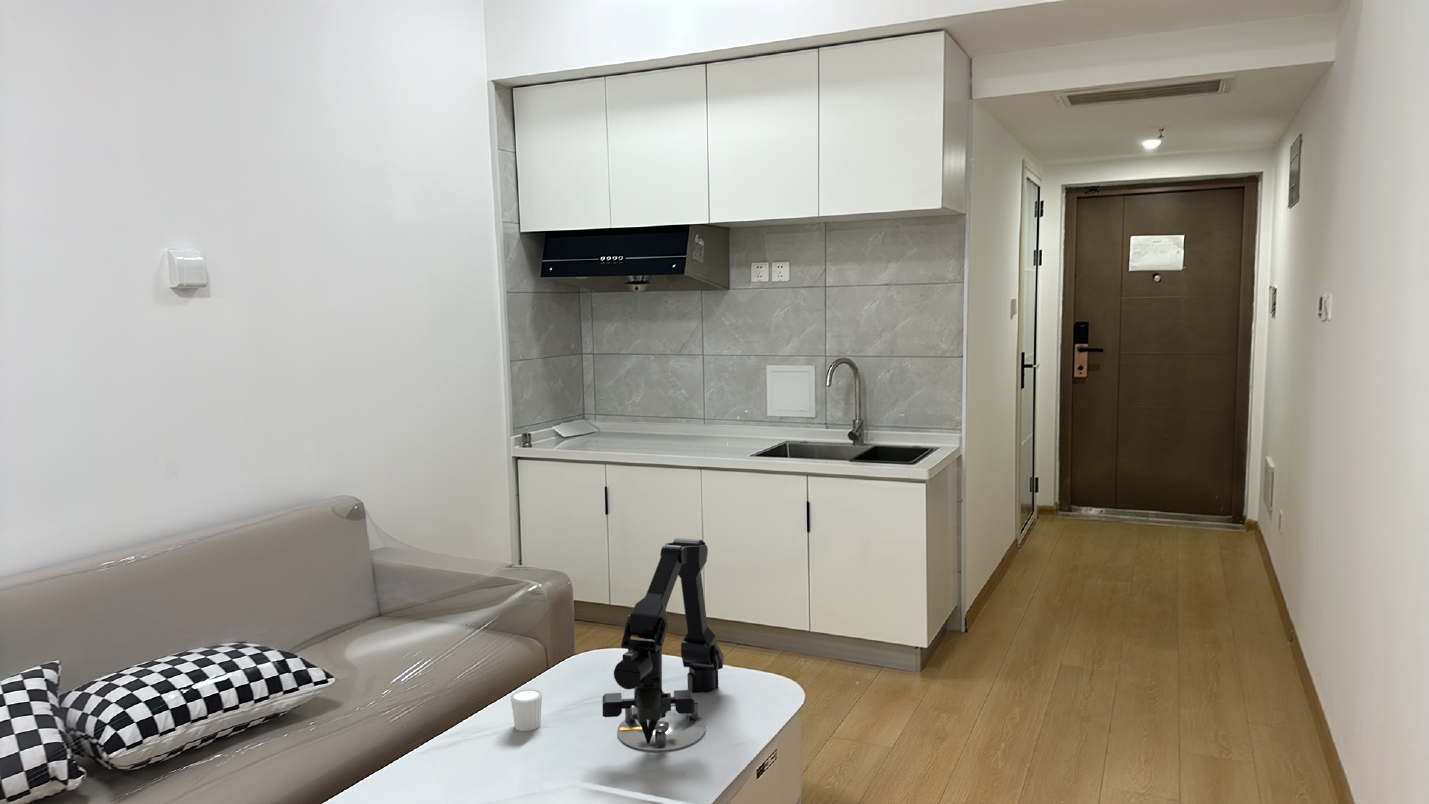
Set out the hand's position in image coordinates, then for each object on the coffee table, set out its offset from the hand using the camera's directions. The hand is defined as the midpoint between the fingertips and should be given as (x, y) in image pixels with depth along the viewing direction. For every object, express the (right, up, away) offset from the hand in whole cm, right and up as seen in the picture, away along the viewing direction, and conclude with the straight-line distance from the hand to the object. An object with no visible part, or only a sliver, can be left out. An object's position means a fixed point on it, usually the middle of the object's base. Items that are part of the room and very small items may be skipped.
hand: (648, 742), depth 195 cm
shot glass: (-28, -1, +14) cm, 31 cm away
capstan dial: (+2, 0, +8) cm, 9 cm away
